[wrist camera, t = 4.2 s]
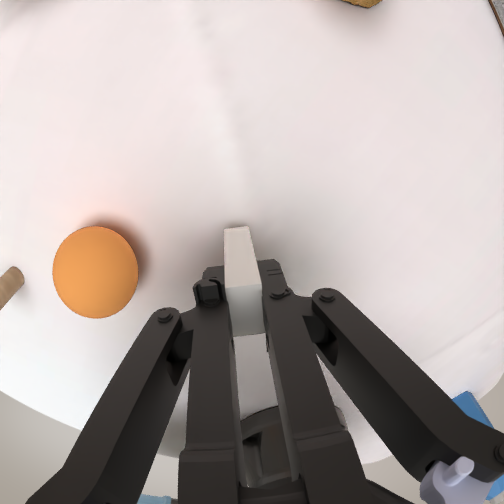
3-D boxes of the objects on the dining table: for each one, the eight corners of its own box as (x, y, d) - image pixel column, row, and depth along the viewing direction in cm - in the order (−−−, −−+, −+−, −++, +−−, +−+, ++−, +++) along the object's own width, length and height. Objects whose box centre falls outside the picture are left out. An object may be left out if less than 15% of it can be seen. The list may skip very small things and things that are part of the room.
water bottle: (434, 426, 42) (477, 515, 19) (431, 413, 38) (482, 517, 15) (470, 400, 40) (518, 485, 17) (472, 383, 36) (530, 480, 14)
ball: (155, 283, 21) (137, 336, 16) (89, 289, 21) (60, 337, 15) (136, 207, 18) (105, 243, 13) (66, 220, 18) (23, 256, 13)
